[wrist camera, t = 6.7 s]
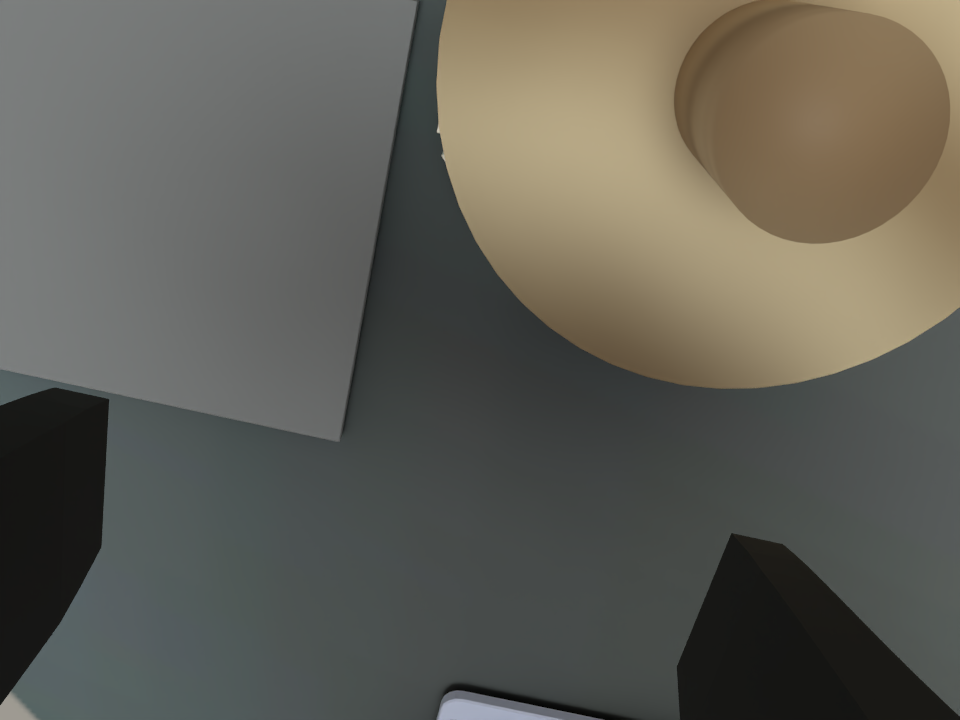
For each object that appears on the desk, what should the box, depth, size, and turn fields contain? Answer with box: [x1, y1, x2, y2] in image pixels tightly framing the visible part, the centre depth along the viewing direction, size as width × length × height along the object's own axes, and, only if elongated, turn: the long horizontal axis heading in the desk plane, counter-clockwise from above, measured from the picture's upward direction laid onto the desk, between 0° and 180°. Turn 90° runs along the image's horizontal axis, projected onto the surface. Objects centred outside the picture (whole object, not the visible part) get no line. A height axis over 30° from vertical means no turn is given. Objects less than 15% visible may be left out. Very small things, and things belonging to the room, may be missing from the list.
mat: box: [0, 0, 419, 442], centre depth 19 cm, size 10×10×1 cm
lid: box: [436, 0, 960, 389], centre depth 13 cm, size 10×10×4 cm
